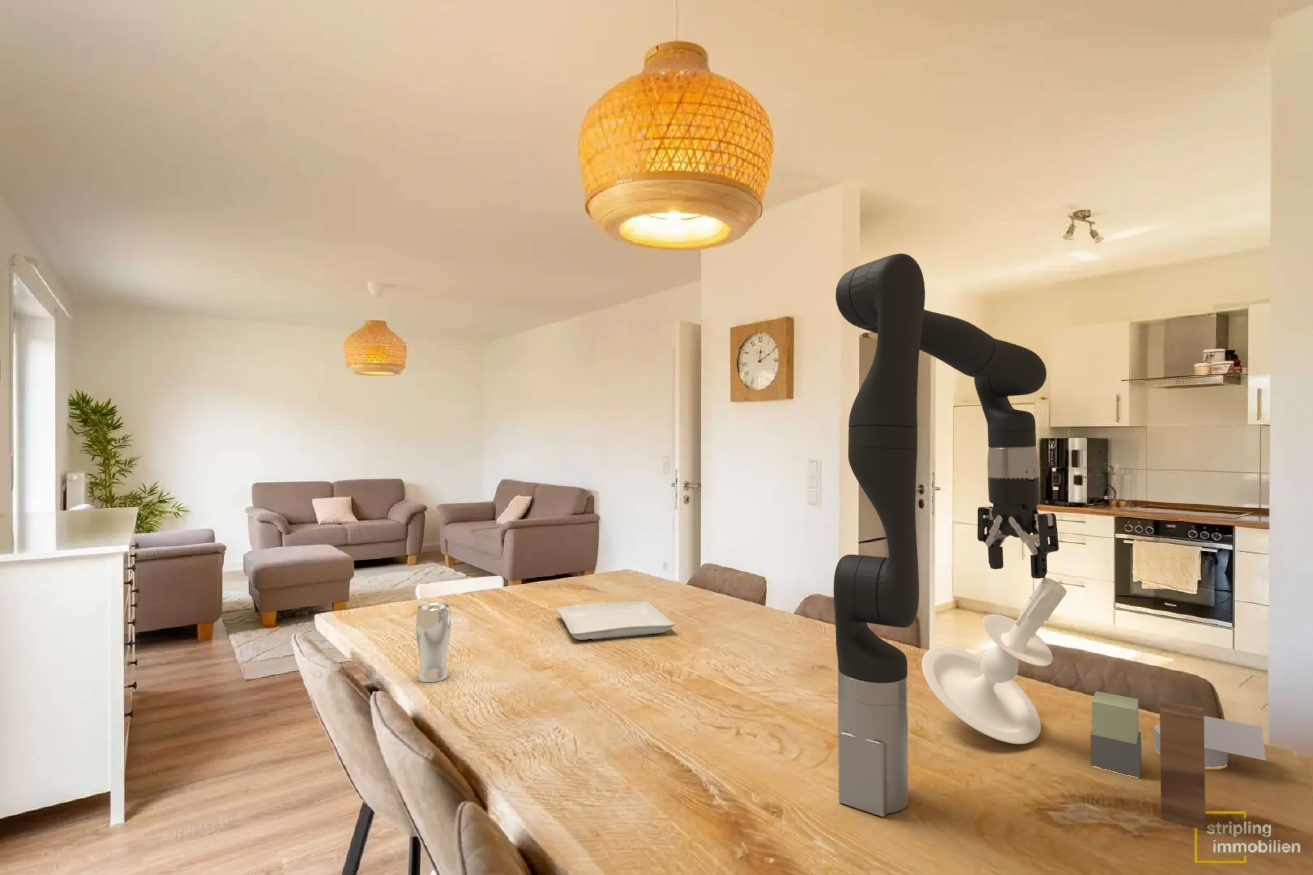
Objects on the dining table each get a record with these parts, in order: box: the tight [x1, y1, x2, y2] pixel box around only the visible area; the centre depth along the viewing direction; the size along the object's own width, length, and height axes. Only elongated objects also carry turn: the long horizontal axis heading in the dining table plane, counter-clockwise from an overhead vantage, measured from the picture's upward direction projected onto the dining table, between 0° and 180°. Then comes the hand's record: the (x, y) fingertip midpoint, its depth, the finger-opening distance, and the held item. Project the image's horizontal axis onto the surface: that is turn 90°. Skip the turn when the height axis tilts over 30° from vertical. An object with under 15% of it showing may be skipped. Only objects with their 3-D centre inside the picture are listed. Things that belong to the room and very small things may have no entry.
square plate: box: [555, 600, 676, 641], centre depth 183 cm, size 27×27×4 cm
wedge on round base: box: [1154, 715, 1266, 767], centre depth 105 cm, size 9×7×13 cm
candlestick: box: [921, 576, 1068, 745], centre depth 114 cm, size 21×25×28 cm
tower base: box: [1090, 731, 1142, 779], centre depth 103 cm, size 6×6×5 cm
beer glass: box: [415, 602, 452, 683], centre depth 142 cm, size 7×7×15 cm
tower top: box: [1091, 690, 1140, 744], centre depth 103 cm, size 6×6×5 cm
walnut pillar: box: [1159, 700, 1206, 830], centre depth 89 cm, size 4×4×14 cm
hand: (1017, 573), depth 111 cm, fingers open, 8 cm apart
